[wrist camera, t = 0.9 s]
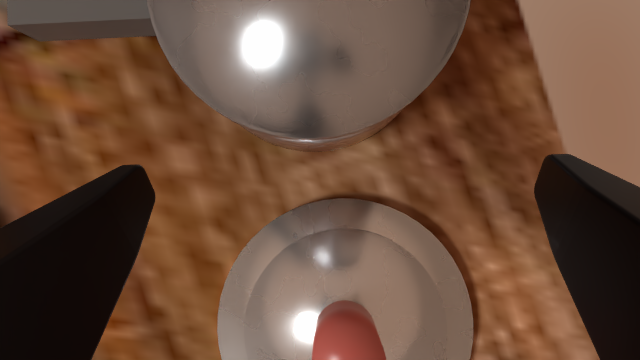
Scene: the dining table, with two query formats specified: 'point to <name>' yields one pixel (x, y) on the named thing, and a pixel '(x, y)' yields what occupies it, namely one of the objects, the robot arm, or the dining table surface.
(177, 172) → the dining table surface
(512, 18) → the dining table surface
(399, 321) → the lid
